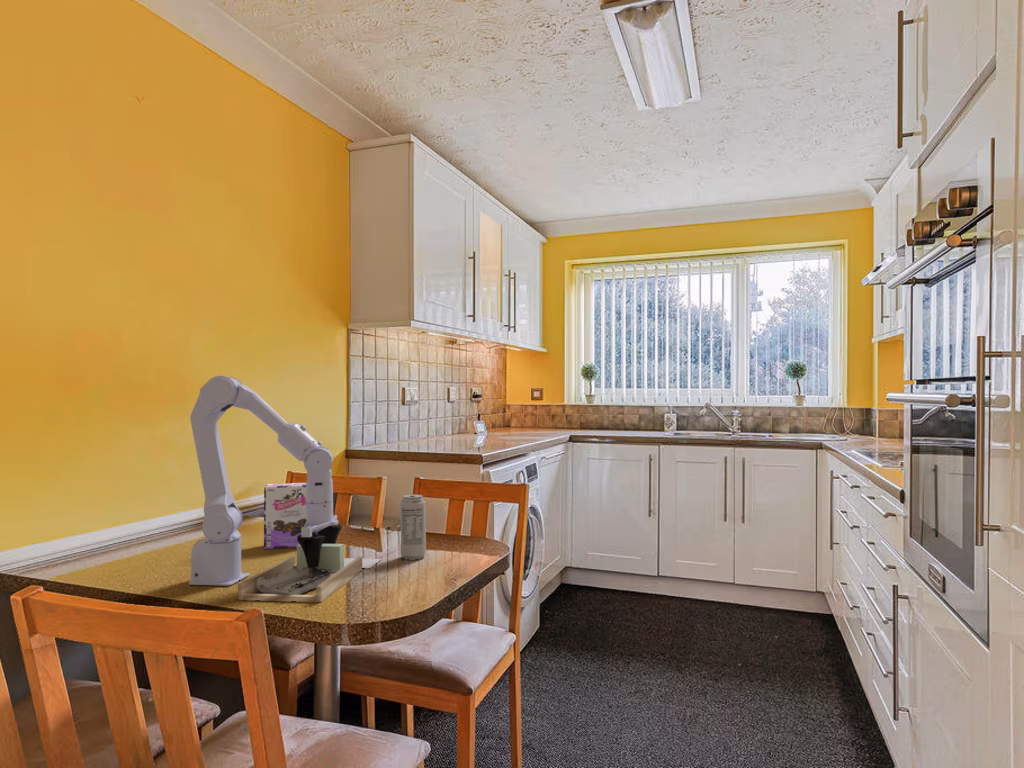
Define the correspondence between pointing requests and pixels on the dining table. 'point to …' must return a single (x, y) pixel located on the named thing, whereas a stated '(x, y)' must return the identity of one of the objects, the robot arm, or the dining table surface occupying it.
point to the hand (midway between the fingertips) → (320, 562)
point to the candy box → (284, 514)
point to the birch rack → (322, 590)
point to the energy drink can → (413, 527)
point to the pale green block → (324, 557)
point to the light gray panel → (363, 562)
